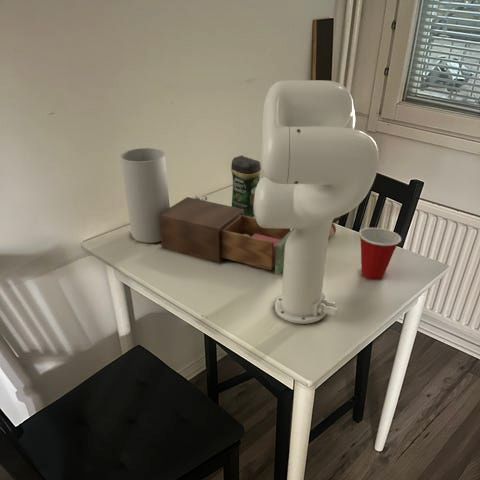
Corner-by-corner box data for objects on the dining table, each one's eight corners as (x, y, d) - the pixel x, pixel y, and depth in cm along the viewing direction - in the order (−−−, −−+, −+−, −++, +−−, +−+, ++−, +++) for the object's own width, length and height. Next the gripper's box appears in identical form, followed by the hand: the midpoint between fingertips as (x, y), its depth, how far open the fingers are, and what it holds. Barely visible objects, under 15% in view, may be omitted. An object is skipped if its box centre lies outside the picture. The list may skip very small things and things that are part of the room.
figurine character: (306, 256, 144) (341, 236, 151) (306, 234, 140) (342, 214, 146) (291, 248, 149) (325, 229, 155) (290, 226, 144) (325, 207, 150)
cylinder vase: (180, 234, 153) (173, 154, 139) (148, 248, 146) (138, 165, 131) (155, 222, 160) (146, 145, 146) (124, 235, 153) (111, 155, 138)
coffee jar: (227, 211, 167) (226, 157, 156) (244, 205, 172) (244, 151, 161) (247, 220, 162) (247, 164, 151) (263, 213, 166) (265, 158, 155)
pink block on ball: (281, 254, 138) (282, 239, 136) (274, 261, 135) (275, 246, 132) (241, 244, 143) (241, 230, 140) (234, 251, 140) (233, 236, 137)
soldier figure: (195, 223, 162) (182, 200, 168) (204, 228, 166) (191, 206, 172) (212, 207, 160) (198, 184, 166) (220, 213, 164) (207, 190, 170)
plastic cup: (401, 275, 133) (410, 235, 126) (377, 289, 127) (385, 248, 120) (368, 260, 140) (375, 221, 132) (344, 273, 134) (350, 233, 127)
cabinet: (243, 242, 149) (243, 209, 142) (219, 263, 138) (218, 228, 132) (189, 229, 156) (187, 196, 150) (162, 248, 146) (158, 214, 140)
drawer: (314, 257, 139) (317, 229, 134) (295, 279, 129) (297, 249, 124) (241, 240, 148) (241, 212, 143) (219, 259, 138) (218, 230, 133)
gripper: (306, 166, 110) (300, 238, 121) (329, 147, 121) (322, 216, 132) (276, 160, 113) (273, 232, 124) (301, 143, 124) (296, 210, 135)
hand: (298, 223), depth 128 cm, fingers closed
